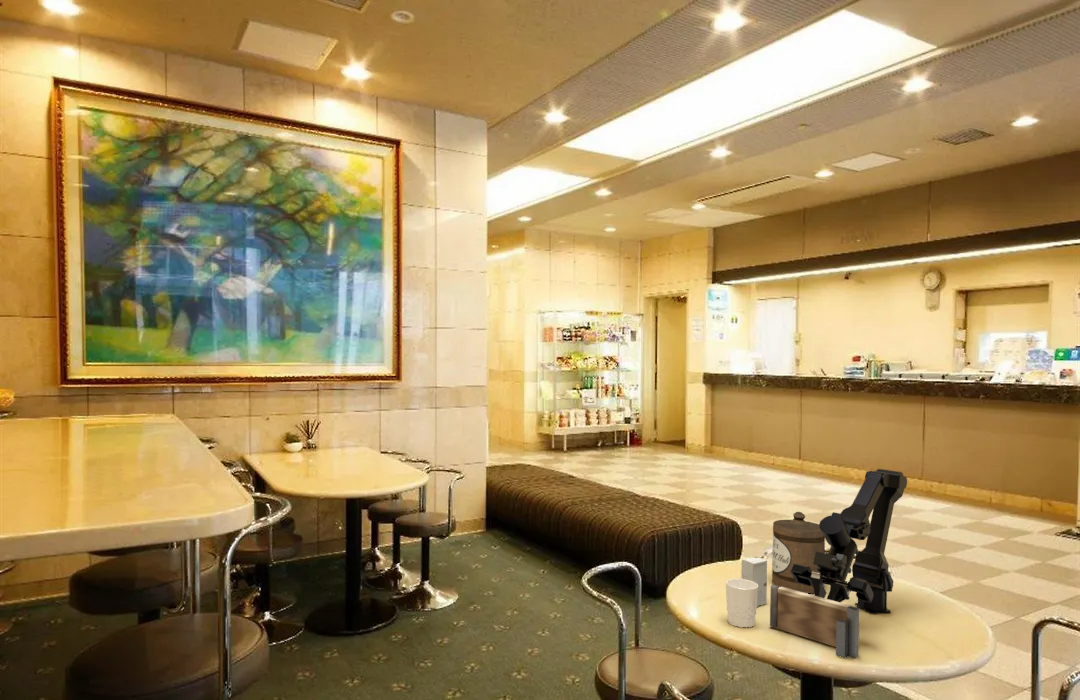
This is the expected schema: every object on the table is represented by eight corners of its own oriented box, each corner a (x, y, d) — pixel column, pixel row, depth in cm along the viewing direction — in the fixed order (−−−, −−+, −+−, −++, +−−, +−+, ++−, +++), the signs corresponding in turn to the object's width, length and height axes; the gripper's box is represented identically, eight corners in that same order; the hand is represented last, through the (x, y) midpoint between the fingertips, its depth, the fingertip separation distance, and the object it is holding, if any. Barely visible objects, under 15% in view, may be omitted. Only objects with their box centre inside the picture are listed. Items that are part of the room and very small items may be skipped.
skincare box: (753, 608, 179) (754, 563, 179) (739, 602, 183) (740, 559, 183) (767, 604, 182) (768, 560, 183) (754, 598, 186) (755, 555, 186)
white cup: (734, 614, 175) (735, 576, 175) (762, 623, 169) (763, 584, 169) (719, 622, 169) (720, 583, 169) (747, 631, 163) (748, 591, 164)
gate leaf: (768, 625, 166) (769, 586, 166) (772, 623, 168) (772, 584, 168) (847, 651, 153) (848, 607, 153) (850, 648, 154) (851, 605, 154)
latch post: (835, 655, 151) (836, 607, 152) (843, 651, 154) (844, 603, 154) (851, 660, 149) (852, 612, 149) (858, 656, 151) (859, 608, 151)
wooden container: (768, 575, 207) (770, 505, 207) (818, 579, 204) (820, 508, 204) (775, 591, 193) (777, 516, 193) (829, 596, 190) (831, 520, 190)
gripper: (794, 531, 170) (771, 583, 163) (869, 547, 156) (848, 604, 149) (808, 556, 175) (787, 607, 168) (882, 574, 162) (862, 631, 154)
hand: (819, 612), depth 159 cm, fingers closed, pressing on gate leaf
